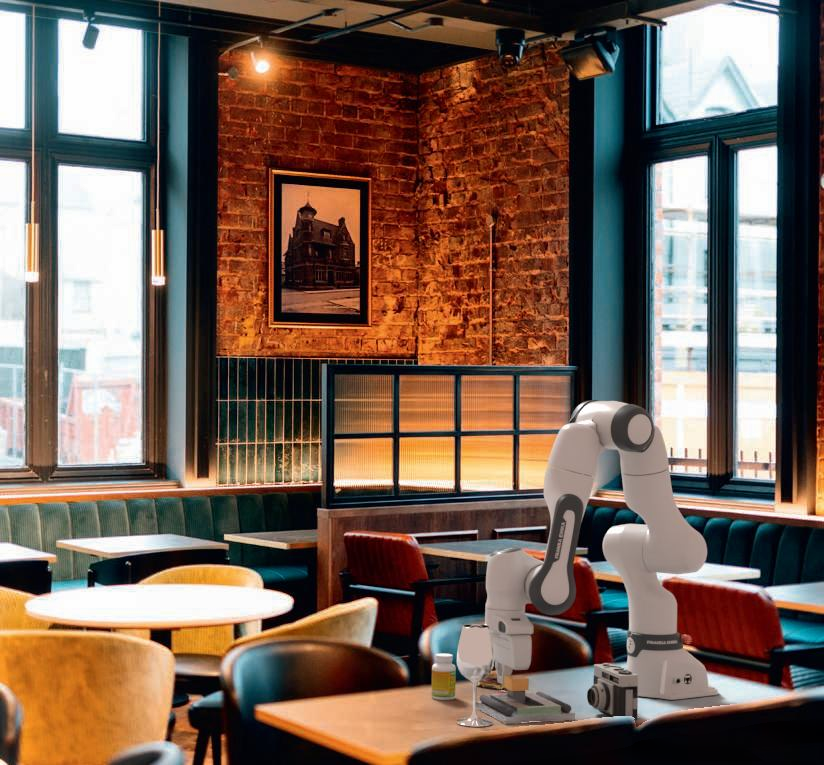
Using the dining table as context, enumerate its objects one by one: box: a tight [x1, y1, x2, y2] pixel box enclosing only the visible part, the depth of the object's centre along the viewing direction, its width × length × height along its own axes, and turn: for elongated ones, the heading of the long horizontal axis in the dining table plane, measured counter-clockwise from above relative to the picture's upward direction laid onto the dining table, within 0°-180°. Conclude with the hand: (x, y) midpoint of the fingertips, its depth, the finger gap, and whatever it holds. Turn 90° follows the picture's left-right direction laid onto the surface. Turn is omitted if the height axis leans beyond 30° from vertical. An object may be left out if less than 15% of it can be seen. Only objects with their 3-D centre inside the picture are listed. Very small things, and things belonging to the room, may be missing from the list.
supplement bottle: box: [430, 653, 457, 701], centre depth 298 cm, size 5×5×10 cm
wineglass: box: [455, 623, 495, 728], centre depth 274 cm, size 8×8×20 cm
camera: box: [586, 662, 639, 721], centre depth 285 cm, size 14×8×10 cm, turn 17°
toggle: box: [503, 674, 530, 703], centre depth 287 cm, size 4×4×5 cm
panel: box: [476, 691, 576, 724], centre depth 283 cm, size 16×16×3 cm
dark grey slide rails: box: [479, 691, 572, 716], centre depth 283 cm, size 15×16×2 cm
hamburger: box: [478, 670, 505, 692], centre depth 312 cm, size 14×14×6 cm
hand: (503, 683), depth 293 cm, fingers closed
